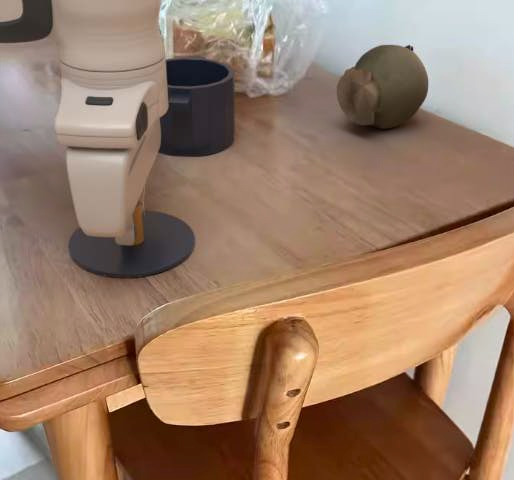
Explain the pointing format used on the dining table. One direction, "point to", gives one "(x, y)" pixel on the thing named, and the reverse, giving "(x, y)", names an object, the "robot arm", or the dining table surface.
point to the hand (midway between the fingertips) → (130, 230)
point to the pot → (198, 107)
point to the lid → (135, 247)
